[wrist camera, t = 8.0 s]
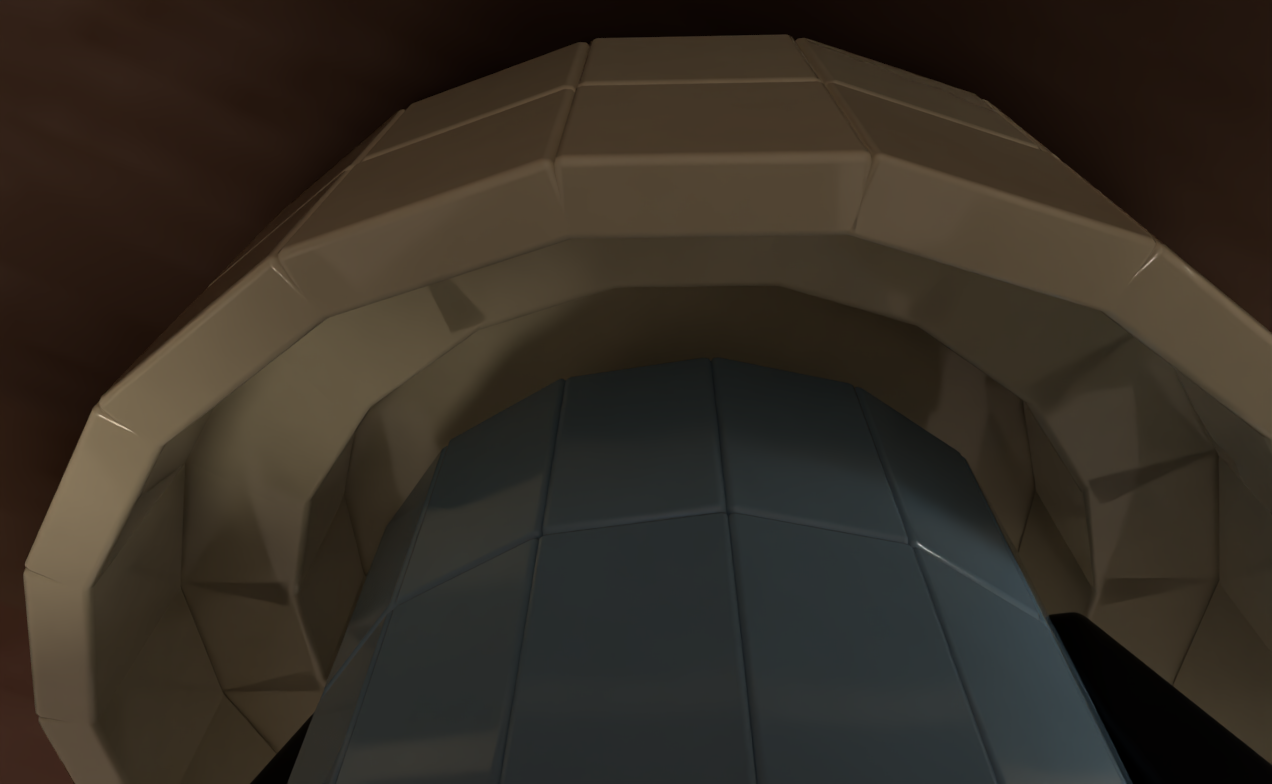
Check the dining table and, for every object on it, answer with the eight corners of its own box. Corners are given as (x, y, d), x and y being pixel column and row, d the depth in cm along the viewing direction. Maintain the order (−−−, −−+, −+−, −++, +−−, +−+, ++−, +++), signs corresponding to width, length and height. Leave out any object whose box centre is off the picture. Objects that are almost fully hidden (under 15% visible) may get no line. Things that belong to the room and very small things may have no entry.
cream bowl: (532, -277, 8) (426, -365, 4) (1370, 417, 11) (1702, 689, 8) (97, 581, 13) (-109, 861, 10) (754, 864, 17) (781, 1143, 13)
